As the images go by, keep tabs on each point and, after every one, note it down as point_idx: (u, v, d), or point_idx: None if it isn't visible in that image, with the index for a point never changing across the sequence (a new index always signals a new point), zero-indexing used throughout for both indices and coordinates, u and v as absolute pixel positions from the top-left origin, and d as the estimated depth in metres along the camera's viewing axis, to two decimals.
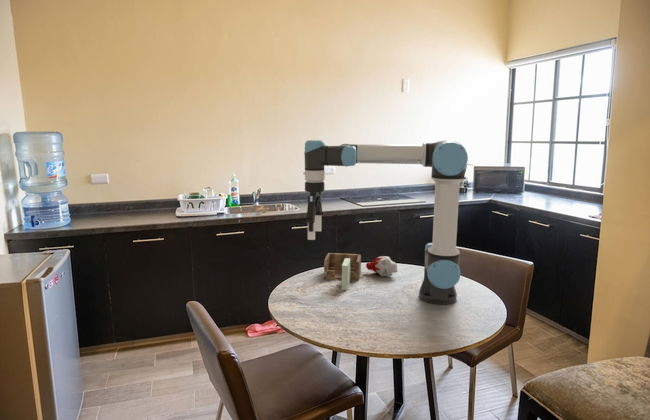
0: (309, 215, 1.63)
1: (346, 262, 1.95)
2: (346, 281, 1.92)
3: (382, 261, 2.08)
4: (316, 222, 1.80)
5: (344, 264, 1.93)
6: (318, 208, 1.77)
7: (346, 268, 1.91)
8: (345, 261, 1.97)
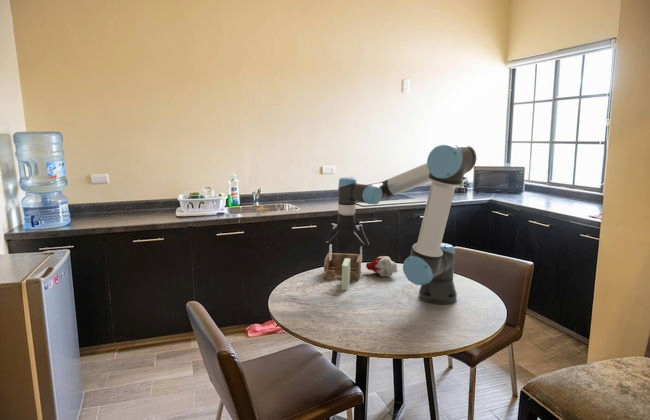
0: (325, 238, 1.96)
1: (346, 262, 1.95)
2: (346, 281, 1.92)
3: (382, 261, 2.08)
4: None
5: (344, 264, 1.93)
6: None
7: (346, 268, 1.91)
8: (345, 261, 1.97)
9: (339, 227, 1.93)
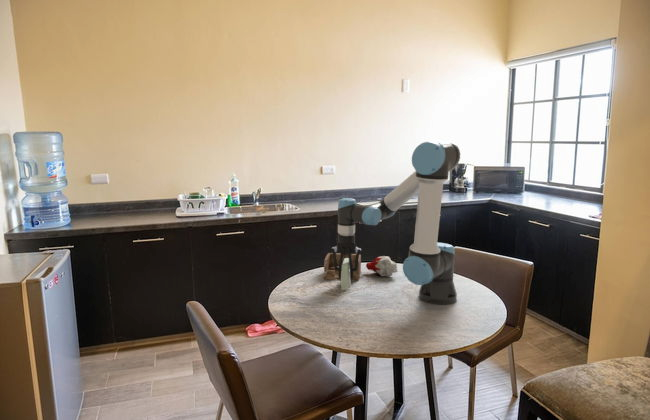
0: None
1: (345, 262, 1.95)
2: (346, 281, 1.92)
3: (382, 261, 2.08)
4: None
5: (344, 264, 1.93)
6: (349, 262, 1.96)
7: (346, 268, 1.91)
8: (345, 261, 1.97)
9: (339, 247, 1.94)
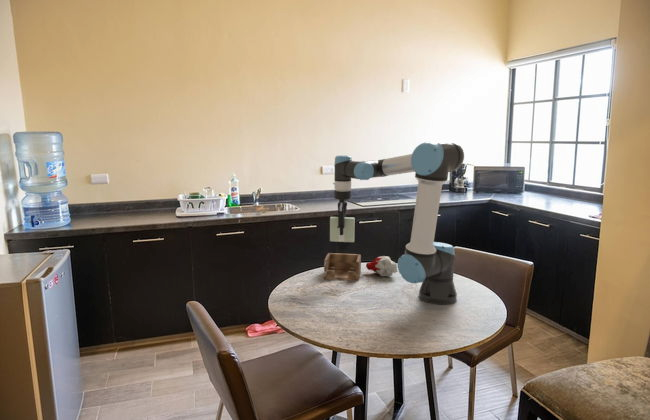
0: (340, 222, 1.98)
1: (345, 217, 2.03)
2: None
3: (382, 261, 2.08)
4: None
5: (350, 218, 2.02)
6: None
7: (354, 220, 2.03)
8: None
9: (344, 204, 1.99)
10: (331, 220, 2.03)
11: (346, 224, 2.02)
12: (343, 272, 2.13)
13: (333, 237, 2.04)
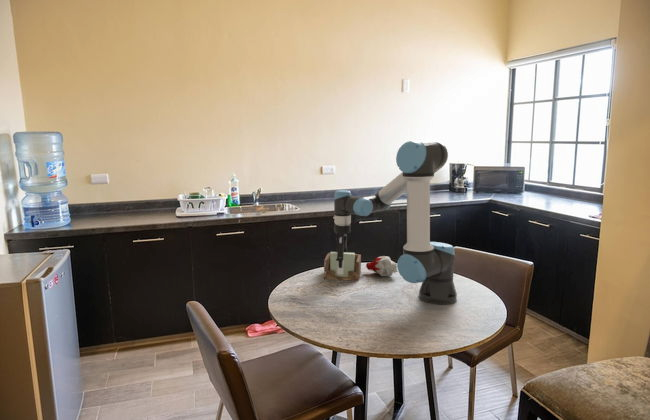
0: (339, 255, 1.97)
1: (345, 253, 2.06)
2: None
3: (382, 261, 2.08)
4: None
5: (350, 253, 2.05)
6: (344, 246, 2.10)
7: (354, 255, 2.06)
8: None
9: (343, 238, 2.02)
10: (331, 255, 2.06)
11: (346, 259, 2.05)
12: None
13: None
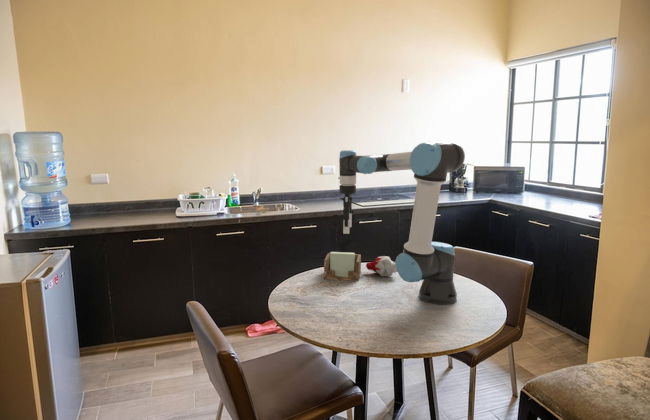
0: (345, 213, 1.96)
1: (345, 253, 2.06)
2: None
3: (382, 261, 2.08)
4: None
5: (350, 253, 2.05)
6: (349, 207, 2.09)
7: (354, 255, 2.06)
8: (341, 253, 2.06)
9: (349, 198, 2.01)
10: (331, 255, 2.06)
11: (346, 259, 2.05)
12: None
13: None
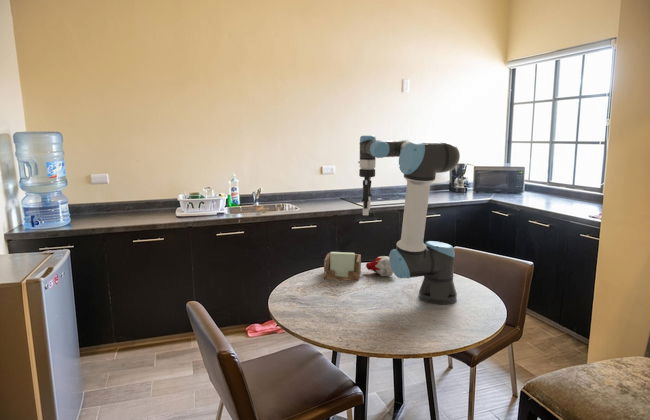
0: (365, 195, 2.04)
1: (345, 253, 2.06)
2: None
3: (382, 261, 2.08)
4: None
5: (350, 253, 2.05)
6: (368, 191, 2.18)
7: (354, 255, 2.06)
8: (341, 253, 2.06)
9: (369, 182, 2.09)
10: (331, 255, 2.06)
11: (346, 259, 2.05)
12: None
13: None
